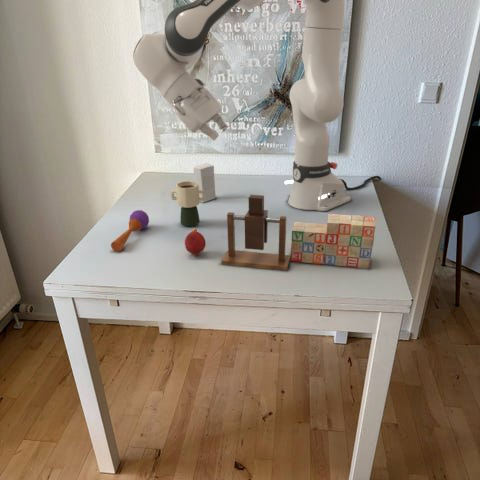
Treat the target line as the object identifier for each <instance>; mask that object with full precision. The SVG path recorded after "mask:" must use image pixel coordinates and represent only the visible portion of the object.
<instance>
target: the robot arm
mask: <svg viewBox="0 0 480 480" xmlns="http://www.w3.org/2000/svg"><path fill="white" fill-rule="evenodd" d="M304 1H305V6H306V15H305V21H304V22H305V23H304V30H303V41H302V51H301V59H302V63H303V68H304V69H303V70H304V78H300V79H298V80H296V81H295V83H293V84H292V86H291V88H290V91H289V101H290V104H291V109H292V118H293V126H294V128H293V129H294V135H295V136H294V138H295V140H294V141H295V144H294V161H293V163H292V179H290V180H285V181H284V184H285V185H288V184H289V185H290V184H291V189H290V194H289V198H288V201H287V203H288V205H289V206H291V207H292V208H295V209H298V210H303V211H304V210H305V211H319V212H327V211H330V210H332V209H334V208H337V207H339V206H341V205H344V204H347V203H348V202H351V200H352V199H351V196H350V195H349V194H347V193H346V192H345V190H347V191H354V190H358V189H361V188H363V187H365V186H366V185H367V183H368V182H369V181H370V182H371V181H372V180H374V179H378V180H380V181H381V180H382V178H381V176H379V175H374V176H371V177H369V178H367V179H365V180H364V181H363V183H362V184H360V185H357V186H354V187H348V184H347V182H346V181H345V179H342V178H340V177H338V176H337V175H335V174H334V173H333V172H332V170H336V169H337V168H338V162H334V161H331V162H330V161H329V153H330V143H331V142H330V140H331V139H330V134H329V132H328V127H327V123H332V122H334V121H336V120H337V119H338V118H339V117H340V115H341V114H342V112H343V109H344V97H343V95H342V92H341V91H342V90H341V81H340V52H341V46H342V37H343V29H344V22H345V0H304ZM263 2H265V0H194V1H192V2H190V3H186V4H183V5H180V6H177V7H176V8H174V9H173V10H171V11H170V12H169V14H168V15H167V17H166V19H165V21H164V22H165V23H164V30H163V31H160V32H156V33H145V34H143V36H141V38H140V39H139V40H138V41H137V44H136V45H135V47H134V50H133V55H132V59H133V63H134V65H135V67H136V69H137V70H138V71H139V72H140V73H141V75H142V76H143V77H144V78H145V79H146V81H148V83H150V84H151V86H153V87H154V88H156V89H157V90H158V91H159V92H160V94H161V96H162V97H163V98H164V100H166V102H167V103H168V104H169V105H170V106H171V107H172V108H173V109H174V110H175V114H176V116H177V117H178V119H180V121H181V122H182V123H183V124H184V126H185V127H186V128H187V129H188V130H189V131H190V132H192V133H197V132H198V131H200V132H201V133H202V134H204V135H206V136H208V137H209V138H210V139H211V140H212V141H216V140H217V139H218V137H220V136H219V135H220V134H219V133H218V132H217V130H214V129H213V128H212V127H210V126H209V123H210V122H211V121H213V122H214V123H215V124H216V125H217V126H218V129H219V130H220V131H221V132H222V133H224V132H225V131H227V129H228V128H229V126H228V124H227V123H226V122H225V120H224V118H223V116H222V115H221V114H220V112H221V111H222V106H221V104H220V102H219V101H218V100H217V99H216V97H214V95H213V94H212V93H211V92H210V91H209V90H208V89H207V88H206V87H205V86H206V84H205V83H204V82H203V81H202V80H201V79H200V78H195V77H193V76H192V75H191V74H190V73H189V72H188V71H187V70H189V69H190V68H191V67H193V66H194V65H196V64H197V63H198V61H199V60H200V59H201V56H202V53H203V50H204V45H205V43H206V41H207V38H208V34H209V32H210V31H211V29H212V27H213V26H214V25H215V24H217V22H219V21H220V20H221V19H222V18H223V17H224V16H226V15H227V14H228V13H229V12H230V11H232V10H233V9H234V8H236V7H238V8H239V9H241V10H244V11H245V10H246V11H251V10H253V9H255V8H256V7H257V6H259V5H261V4H262V3H263Z"/></svg>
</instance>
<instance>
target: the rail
mask: <svg viewBox="0 0 480 480" xmlns="http://www.w3.org/2000/svg"><path fill="white" fill-rule="evenodd" d="M235 220H236V221H245V215H239V214H235V212H231V211H228V212H227V214H226V223H227V225H226V226H227V251H226V252H225V254H224V256H223V257H222V259H221V265H223V266H224V265H226V266H234V267H245V268H255V269H265V270H274V271H286V272H288V268H289V265H290V262H291V254H286V245H287V216H281V215H280V217H279V218H277V217H268V218H265V220H264V222H268V223H271V224H278V226H279V227H278V253H271V252H269V253H268V252H260V251H259V252H257V251H248V250H236V227H235V226H236V225H235V223H236V222H235Z"/></svg>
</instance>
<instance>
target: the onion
mask: <svg viewBox="0 0 480 480" xmlns="http://www.w3.org/2000/svg"><path fill="white" fill-rule="evenodd" d="M206 246H207V243H206V238H205V237H204V235H203V234H202V233H200V232H199V231H198V229H197V228H193V229H192V231H191V232H189V233H188V234H187V236H186V237H185V239H184V247H185V249H186V251H187V253H190V254H191V255H194V256H199V254H201V253H202V252H203V251H205V248H206Z"/></svg>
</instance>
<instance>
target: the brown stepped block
mask: <svg viewBox="0 0 480 480" xmlns="http://www.w3.org/2000/svg"><path fill="white" fill-rule="evenodd" d="M268 213H269V210H268V209H265V195H261V194H259V195H258V194H250V195H249V196H248V210H247V212H246V213H245V215H244V216H245V220H244V249H247V250H258V251H264V249H265V244H267V243H268V231H269V230H268V226H269V224H268V223H269V222H264V220H265V218H269V214H268Z"/></svg>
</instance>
